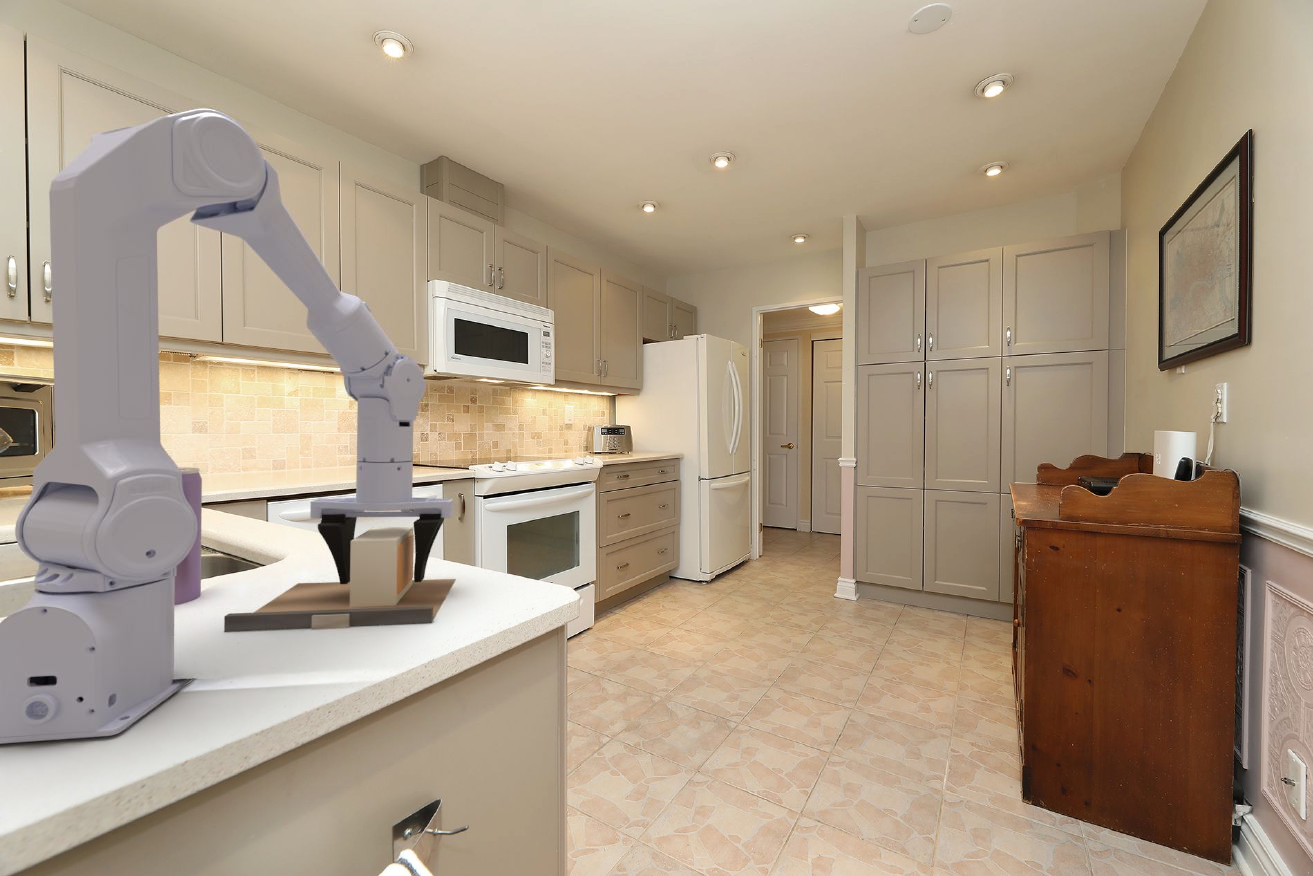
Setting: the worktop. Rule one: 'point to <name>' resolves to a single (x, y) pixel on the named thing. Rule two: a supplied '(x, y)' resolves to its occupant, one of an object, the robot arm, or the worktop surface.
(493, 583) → the worktop surface
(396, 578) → the product box
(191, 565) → the beverage can
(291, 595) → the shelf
